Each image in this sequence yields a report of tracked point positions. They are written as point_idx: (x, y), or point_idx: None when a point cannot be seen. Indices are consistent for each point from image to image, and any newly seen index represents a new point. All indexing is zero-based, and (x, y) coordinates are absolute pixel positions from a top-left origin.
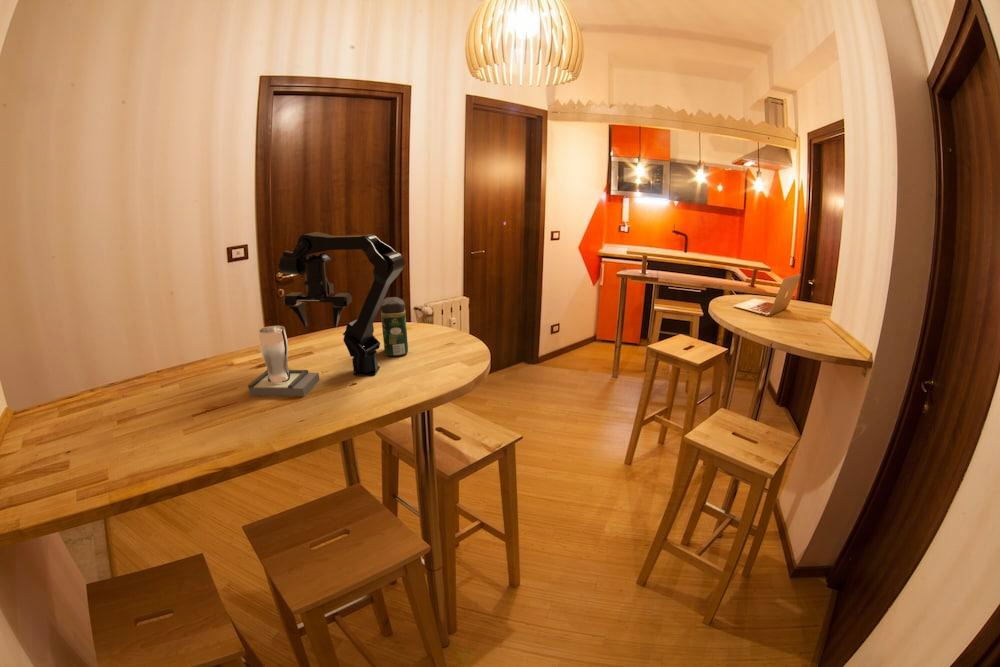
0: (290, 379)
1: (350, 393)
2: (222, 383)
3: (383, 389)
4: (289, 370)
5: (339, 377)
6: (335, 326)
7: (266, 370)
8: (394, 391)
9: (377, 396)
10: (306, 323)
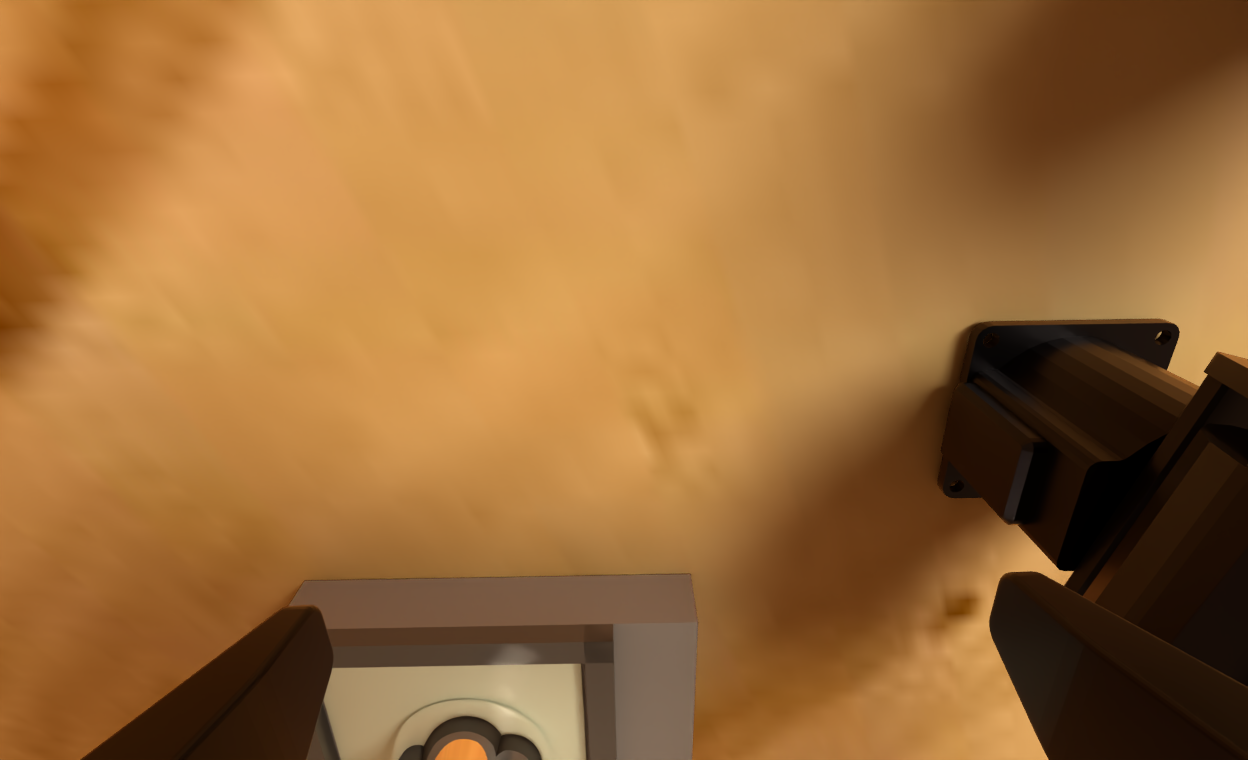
0: (549, 751)
1: (951, 717)
2: (12, 637)
3: None
4: (461, 656)
5: (827, 517)
6: (1013, 648)
7: None
8: None
9: None
10: (295, 677)
